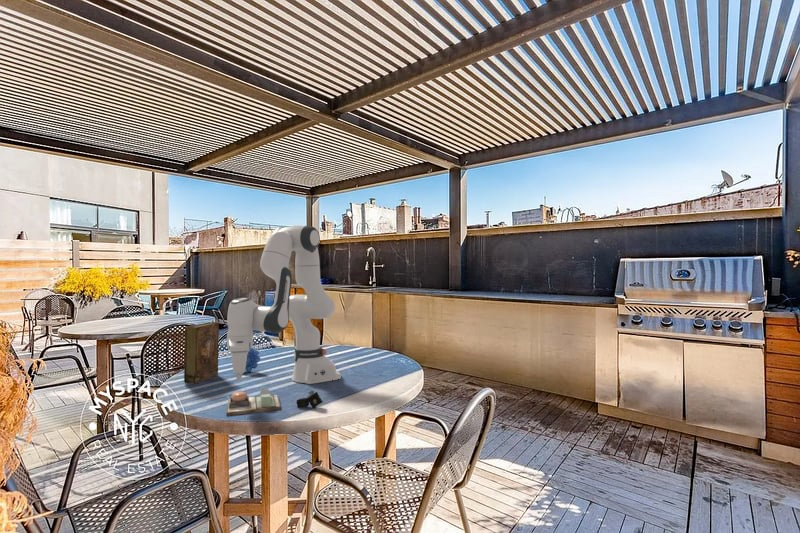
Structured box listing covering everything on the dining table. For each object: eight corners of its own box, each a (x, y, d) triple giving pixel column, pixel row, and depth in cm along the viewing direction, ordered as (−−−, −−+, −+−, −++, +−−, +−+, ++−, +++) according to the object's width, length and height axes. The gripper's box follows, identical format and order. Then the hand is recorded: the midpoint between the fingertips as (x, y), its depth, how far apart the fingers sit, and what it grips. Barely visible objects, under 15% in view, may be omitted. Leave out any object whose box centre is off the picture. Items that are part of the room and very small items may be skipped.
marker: (268, 396, 150) (268, 388, 150) (270, 405, 141) (270, 396, 141) (260, 397, 149) (260, 389, 149) (261, 406, 140) (261, 397, 140)
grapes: (263, 370, 193) (264, 346, 194) (257, 373, 187) (258, 348, 187) (240, 369, 194) (241, 345, 194) (234, 373, 187) (234, 348, 187)
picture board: (277, 396, 153) (277, 389, 154) (280, 409, 140) (280, 401, 140) (228, 402, 147) (228, 394, 147) (226, 415, 133) (226, 407, 133)
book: (209, 374, 185) (210, 322, 185) (219, 374, 184) (220, 322, 184) (184, 383, 169) (184, 326, 169) (194, 384, 168) (195, 327, 168)
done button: (246, 397, 145) (246, 390, 145) (246, 401, 140) (246, 395, 140) (232, 398, 143) (232, 392, 143) (231, 403, 138) (231, 396, 138)
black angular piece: (301, 415, 141) (293, 402, 141) (303, 413, 143) (295, 400, 144) (321, 403, 141) (313, 390, 141) (322, 401, 143) (315, 388, 143)
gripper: (231, 338, 150) (230, 373, 150) (229, 348, 131) (228, 388, 131) (248, 337, 152) (248, 372, 152) (249, 347, 134) (248, 387, 133)
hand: (239, 380), depth 141 cm, fingers closed
